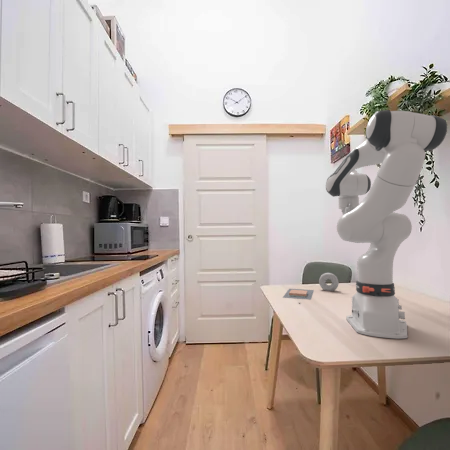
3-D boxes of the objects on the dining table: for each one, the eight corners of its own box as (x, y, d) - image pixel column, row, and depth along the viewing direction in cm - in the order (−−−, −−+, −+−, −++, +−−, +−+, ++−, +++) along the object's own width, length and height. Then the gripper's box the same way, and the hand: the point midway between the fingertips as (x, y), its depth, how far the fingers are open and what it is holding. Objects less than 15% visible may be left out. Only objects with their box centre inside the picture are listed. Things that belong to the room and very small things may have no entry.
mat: (310, 300, 130) (310, 299, 130) (282, 298, 134) (282, 297, 134) (313, 291, 150) (313, 290, 150) (289, 289, 155) (289, 288, 155)
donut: (318, 291, 150) (318, 272, 151) (319, 289, 153) (319, 271, 154) (338, 293, 145) (338, 273, 146) (339, 291, 148) (339, 272, 149)
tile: (307, 293, 142) (306, 297, 134) (291, 292, 145) (289, 295, 137) (307, 290, 142) (306, 294, 135) (291, 289, 145) (289, 292, 137)
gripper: (357, 202, 123) (358, 233, 123) (354, 206, 142) (354, 233, 142) (342, 202, 125) (342, 233, 125) (340, 206, 144) (341, 233, 144)
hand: (349, 233), depth 134 cm, fingers closed
